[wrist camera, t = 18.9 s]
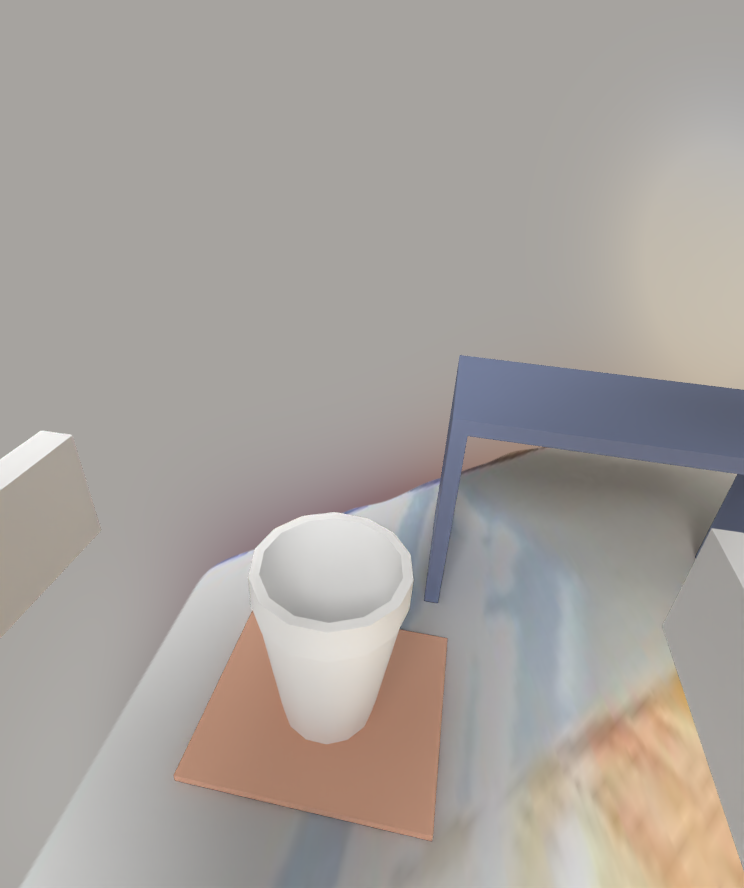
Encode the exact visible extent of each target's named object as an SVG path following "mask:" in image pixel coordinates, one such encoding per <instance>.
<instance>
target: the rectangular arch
mask: <svg viewBox="0 0 744 888" xmlns="http://www.w3.org/2000/svg"><path fill="white" fill-rule="evenodd" d="M467 436H471V437H479V438H486V439H493V440H500V441H507V442H514V443H522V444H528V445H535V446H542V447H550V448H557V449H564V450H571V451H578V452H585V453H592V454H599V455H606V456H614V457H621V458H628V459H635V460H642V461H649V462H656V463H663V464H670V465H678V466H685V467H692V468H699V469H706V470H713V471H720V472H727V473H734V474H737V476H736V478H735V480H734V482H733V484H732V486H731V488H730V490H729V492H728V494H727V496H726V498H725V500H724V502H723V504H722V505H721V507H720V509H719V511H718V513H717V515H716V517H715V519H714V521H713V523H712V525H711V527H710V529H709V531H708V533H707V535H706V537H705V539H704V541H703V543H702V545H701V546H700V548H699V550H698V552H697V554H696V556H695V558H697V556H698V554H699V552H700V550H701V548H702V546H703V544H704V542H705V540H706V538H707V536H708V534H709V532H710V530H711V528H714V529H721V530H728V531H734V532H741V533H744V390H740V389H732V388H724V387H715V386H707V385H699V384H690V383H683V382H675V381H666V380H658V379H650V378H642V377H633V376H625V375H617V374H609V373H601V372H593V371H584V370H576V369H568V368H560V367H551V366H544V365H535V364H527V363H519V362H510V361H503V360H495V359H485V358H478V357H470V356H462V355H460V357H459V364H458V370H457V377H456V383H455V390H454V397H453V402H452V409H451V415H450V422H449V429H448V435H447V441H446V448H445V455H444V461H443V467H442V474H441V480H440V486H439V493H438V499H437V506H436V512H435V519H434V527H433V535H432V543H431V551H430V559H429V566H428V574H427V582H426V590H425V598H424V601H428V602H434V603H438V599H439V594H440V588H441V582H442V577H443V571H444V566H445V560H446V554H447V549H448V543H449V537H450V532H451V526H452V521H453V515H454V509H455V504H456V498H457V493H458V487H459V481H460V476H461V470H462V464H463V459H464V453H465V447H466V442H467Z"/></svg>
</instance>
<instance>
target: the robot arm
mask: <svg viewBox="0 0 744 888" xmlns="http://www.w3.org/2000/svg"><path fill="white" fill-rule="evenodd" d="M100 531H101V527H100V524H99V521H98V517H97V514H96V511H95V507H94V504H93V501H92V498H91V495H90V491H89V488H88V485H87V481H86V478H85V475H84V472H83V468H82V465H81V462H80V458H79V455H78V452H77V449H76V446H75V442H74V439H73V436H72V435H68V434H61V433H54V432H48V431H40V432H39V433H37V434H36V435H34V436H33V437H31V438H30V439H29V440H27V441H26V442H24V443H23V444H21V445H20V446H19V447H17V448H16V449H14V450H13V451H11V452H10V453H9V454H7V455H6V456H4V457H3V458H1V459H0V638H1V637H2V636H3V635H4V634H5V633H6V632H7V631H8V630H9V628H10V627H11V626H12V625H13V624H14V623H15V622H16V621H17V620H18V619H19V618H20V617H21V616H22V614H24V612H25V611H26V610H27V609H28V608H29V607H30V606H31V605H32V604H33V603H34V602H35V601H36V600H37V599H38V597H39V596H40V595H41V594H42V593H43V592H44V591H45V590H46V589H47V588H48V587H49V586H50V585H51V584H52V583H53V582H54V580H55V579H56V578H57V577H58V576H59V575H60V574H61V573H62V572H63V571H64V570H65V568H67V567H68V565H69V564H70V563H71V562H72V561H73V560H74V559H75V558H76V557H77V556H78V555H79V554H80V553H81V552H82V551H83V549H84V548H85V547H86V546H87V545H88V544H89V543H90V542H91V541H92V540H93V539H94V538H95V537H96V536H97V535H98V533H99V532H100ZM662 628H663V631H664V634H665V637H666V640H667V643H668V646H669V649H670V652H671V655H672V658H673V661H674V664H675V667H676V670H677V673H678V676H679V678H680V681H681V684H682V687H683V690H684V693H685V696H686V699H687V702H688V705H689V708H690V711H691V714H692V717H693V720H694V723H695V726H696V729H697V732H698V735H699V738H700V741H701V744H702V747H703V750H704V753H705V756H706V759H707V762H708V765H709V768H710V771H711V774H712V777H713V780H714V783H715V786H716V789H717V792H718V795H719V798H720V801H721V804H722V807H723V810H724V813H725V816H726V819H727V822H728V825H729V828H730V831H731V834H732V837H733V840H734V843H735V846H736V849H737V852H738V855H739V858H740V861H741V864H742V867H743V870H744V533H741V532H734V531H728V530H721V529H714V528H711V530H710V532H709V534H708V536H707V538H706V540H705V542H704V544H703V546H702V548H701V550H700V552H699V554H698V556H697V558H696V560H695V562H694V564H693V566H692V568H691V570H690V572H689V574H688V576H687V578H686V580H685V582H684V584H683V586H682V588H681V590H680V592H679V594H678V596H677V598H676V600H675V601H674V603H673V605H672V607H671V609H670V611H669V613H668V615H667V617H666V619H665V621H664V623H663V625H662Z"/></svg>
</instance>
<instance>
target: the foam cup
mask: <svg viewBox="0 0 744 888" xmlns="http://www.w3.org/2000/svg"><path fill="white" fill-rule="evenodd" d="M413 581H414V580H413V571H412V563H411V554H410V553H409V551H408V550H407V549H406V548H405V546H404V545H403V544H402V543H401V541H400V540H399V539H398V537H397V536H396V535H395V534H394V532H392V531H390V530H388V529H386V528H385V527H383V526H381V525H379V524H377V523H375V522H374V521H372V520H370V519H368V518H365V517H359V516H353V515H348V514H342V513H337V512H333V513H325V514H316V515H306V516H302V517H300V518H297V519H295V520H293V521H290V522H288V523H286V524H284V525H281V526H279V527H277V528H275V529H274V530H273V531H272V532H271V533H270V534H269V535H268V536H267V537H266V538H265V539H264V540H263V541H262V542H261V543H260V544H259V545H258V546H257V547H256V548H255V549H254V553H253V557H252V561H251V565H250V570H249V574H248V582H249V593H250V604H251V607H252V610H253V613H254V615H255V618H256V620H257V623H258V625H259V628H260V630H261V633H262V635H263V638H264V642H265V645H266V649H267V652H268V656H269V659H270V663H271V667H272V670H273V674H274V677H275V681H276V684H277V688H278V691H279V695H280V699H281V702H282V705H283V708H284V711H285V713H286V716H287V719H288V721H289V724H290V726H291V727H292V728H293V729H294V730H295V731H297V732H298V733H299V734H300V735H301V736H302V737H304V738H305V739H306V740H310V741H314V742H318V743H323V744H331V743H335V742H340V741H345V740H348V739H349V738H351V737H352V736H353V735H354V734H356V733H357V732H358V731H360V730H361V729H362V728H363V727H364V726H365V724H366V722H367V720H368V718H369V716H370V714H371V712H372V710H373V706H374V704H375V702H376V698H377V695H378V692H379V689H380V686H381V683H382V680H383V677H384V674H385V671H386V668H387V665H388V662H389V659H390V656H391V653H392V650H393V647H394V644H395V641H396V638H397V635H398V632H399V629H400V627H401V625H402V623H403V621H404V619H405V617H406V615H407V613H408V611H409V609H410V602H411V595H412V588H413Z"/></svg>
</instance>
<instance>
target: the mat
mask: <svg viewBox="0 0 744 888" xmlns="http://www.w3.org/2000/svg"><path fill="white" fill-rule="evenodd" d="M446 651H447V638H443V637H438V636H432V635H427V634H422V633H416V632H411V631H406V630H401V629H399V632H398V635H397V638H396V641H395V644H394V647H393V650H392V653H391V656H390V659H389V662H388V665H387V668H386V671H385V674H384V677H383V680H382V683H381V686H380V689H379V692H378V695H377V698H376V702H375V704H374V706H373V710H372V712H371V714H370V716H369V718H368V720H367V722H366V724H365V726H364V727H363V728H362V729H361V730H360V731H358V732H357V733H356V734H354V735H353V736H352V737H351V738H349V739H348V740H345V741H340V742H335V743H331V744H323V743H318V742H314V741H310V740H306V739H305V738H304V737H302V736H301V735H300V734H299V733H298V732H297V731H295V730H294V729H293V728H292V727H291V726H290V724H289V721H288V719H287V716H286V713H285V711H284V708H283V705H282V702H281V699H280V695H279V691H278V688H277V684H276V681H275V677H274V674H273V670H272V667H271V663H270V659H269V656H268V652H267V649H266V645H265V642H264V638H263V635H262V633H261V630H260V628H259V625H258V623H257V620H256V618H255V615H254V613H253V610H252V612H251V615H250V617H249V619H248V621H247V623H246V625H245V627H244V629H243V631H242V633H241V635H240V638H239V640H238V642H237V644H236V646H235V648H234V650H233V652H232V654H231V656H230V658H229V661H228V663H227V665H226V667H225V669H224V671H223V673H222V675H221V677H220V679H219V681H218V684H217V686H216V688H215V690H214V692H213V694H212V696H211V698H210V700H209V702H208V704H207V707H206V709H205V711H204V713H203V715H202V717H201V719H200V721H199V723H198V725H197V727H196V730H195V732H194V734H193V736H192V738H191V740H190V742H189V744H188V746H187V748H186V750H185V752H184V755H183V757H182V759H181V761H180V763H179V765H178V767H177V769H176V771H175V773H174V779H175V781H179V782H183V783H188V784H192V785H196V786H200V787H204V788H209V789H213V790H217V791H221V792H226V793H230V794H234V795H238V796H243V797H247V798H251V799H255V800H260V801H264V802H268V803H272V804H276V805H281V806H285V807H289V808H293V809H298V810H302V811H306V812H310V813H315V814H319V815H323V816H327V817H331V818H336V819H340V820H344V821H348V822H353V823H357V824H361V825H365V826H370V827H374V828H378V829H382V830H387V831H391V832H395V833H399V834H403V835H408V836H412V837H416V838H420V839H425V840H429V841H432V838H433V829H434V815H435V802H436V788H437V774H438V761H439V747H440V733H441V720H442V706H443V692H444V679H445V665H446Z"/></svg>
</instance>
